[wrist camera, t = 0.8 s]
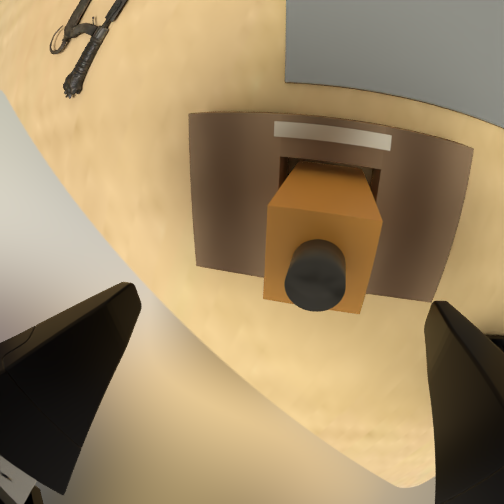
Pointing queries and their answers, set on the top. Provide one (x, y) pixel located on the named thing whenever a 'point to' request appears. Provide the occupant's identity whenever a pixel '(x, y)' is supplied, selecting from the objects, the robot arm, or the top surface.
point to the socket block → (332, 150)
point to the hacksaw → (98, 33)
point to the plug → (321, 238)
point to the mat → (403, 50)
